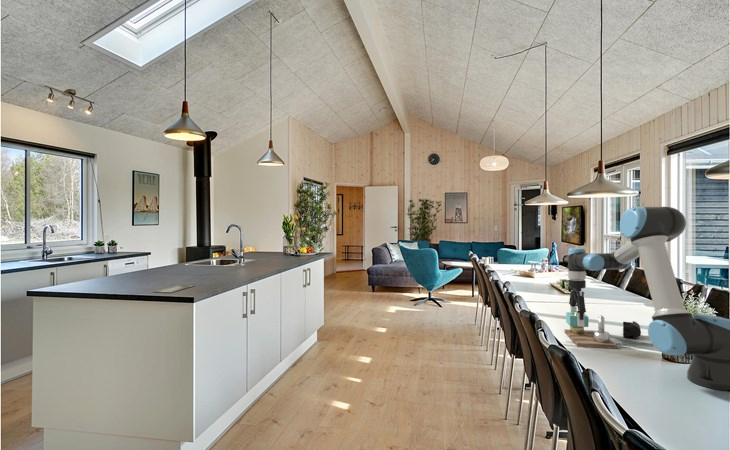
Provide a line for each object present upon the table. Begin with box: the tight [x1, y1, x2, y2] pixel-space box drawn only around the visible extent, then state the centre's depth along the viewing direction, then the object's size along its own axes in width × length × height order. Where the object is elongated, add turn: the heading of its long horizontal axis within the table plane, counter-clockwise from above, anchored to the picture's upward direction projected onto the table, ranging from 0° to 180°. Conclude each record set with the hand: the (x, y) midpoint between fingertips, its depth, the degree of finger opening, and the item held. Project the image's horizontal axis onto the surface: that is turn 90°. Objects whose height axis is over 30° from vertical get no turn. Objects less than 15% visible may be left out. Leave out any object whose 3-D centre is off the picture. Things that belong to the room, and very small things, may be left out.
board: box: [563, 328, 618, 350], centre depth 197 cm, size 24×16×2 cm, turn 167°
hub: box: [569, 312, 585, 334], centre depth 204 cm, size 6×6×10 cm
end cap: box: [622, 320, 642, 340], centre depth 201 cm, size 10×7×7 cm
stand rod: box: [593, 315, 610, 343], centre depth 190 cm, size 6×6×12 cm
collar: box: [565, 311, 589, 328], centre depth 204 cm, size 8×8×5 cm
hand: (577, 322), depth 204 cm, fingers open, 13 cm apart
